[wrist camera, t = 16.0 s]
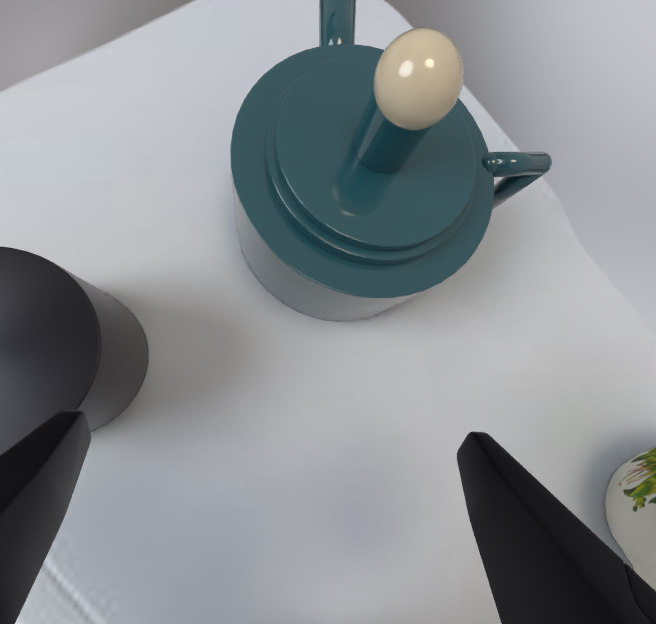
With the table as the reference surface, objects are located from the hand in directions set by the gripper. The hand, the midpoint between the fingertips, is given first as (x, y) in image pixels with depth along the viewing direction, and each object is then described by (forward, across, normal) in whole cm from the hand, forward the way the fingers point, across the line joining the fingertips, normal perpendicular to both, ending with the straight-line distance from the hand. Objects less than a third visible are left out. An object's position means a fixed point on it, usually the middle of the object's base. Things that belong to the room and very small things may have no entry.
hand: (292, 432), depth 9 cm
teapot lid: (+12, -3, -4) cm, 13 cm away
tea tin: (+11, +11, +9) cm, 17 cm away
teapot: (+20, -5, -1) cm, 20 cm away
